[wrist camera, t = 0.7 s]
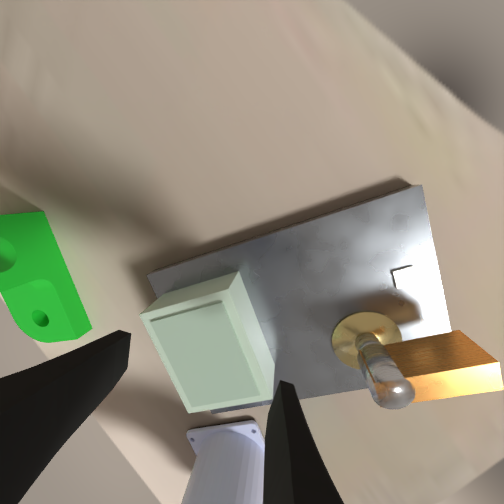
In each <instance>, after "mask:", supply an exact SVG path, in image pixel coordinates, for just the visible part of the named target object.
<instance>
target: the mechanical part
mask: <svg viewBox="0 0 504 504" xmlns="http://www.w3.org/2000/svg"><path fill="white" fill-rule="evenodd" d="M0 292H1V294H2V296H3V298H4V300H5V302H6V304H7V306H8V308H9V310H10V312H11V314H12V316H13V319H14V320H15V322H16V323H17V325H18V326H19V328H20V329H21V330H23V332H24V333H26V334H27V335H28V336H30V337H31V338H33V339H35V340H37V341H40V342H46V343H51V342H59V341H67V340H75V339H78V338H80V337H81V336H82V335H84V334H85V333H87V332H88V331H89V330H91V329H92V326H91V324H90V321H89V319H88V317H87V314H86V312H85V309H84V307H83V305H82V302H81V300H80V297H79V295H78V293H77V290H76V288H75V285H74V283H73V281H72V278H71V276H70V273H69V271H68V269H67V266H66V264H65V261H64V259H63V257H62V254H61V252H60V249H59V247H58V245H57V242H56V240H55V237H54V235H53V233H52V230H51V228H50V225H49V223H48V220H47V218H46V216H45V213H44V211H40V212H29V213H18V214H6V215H0Z"/></svg>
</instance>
